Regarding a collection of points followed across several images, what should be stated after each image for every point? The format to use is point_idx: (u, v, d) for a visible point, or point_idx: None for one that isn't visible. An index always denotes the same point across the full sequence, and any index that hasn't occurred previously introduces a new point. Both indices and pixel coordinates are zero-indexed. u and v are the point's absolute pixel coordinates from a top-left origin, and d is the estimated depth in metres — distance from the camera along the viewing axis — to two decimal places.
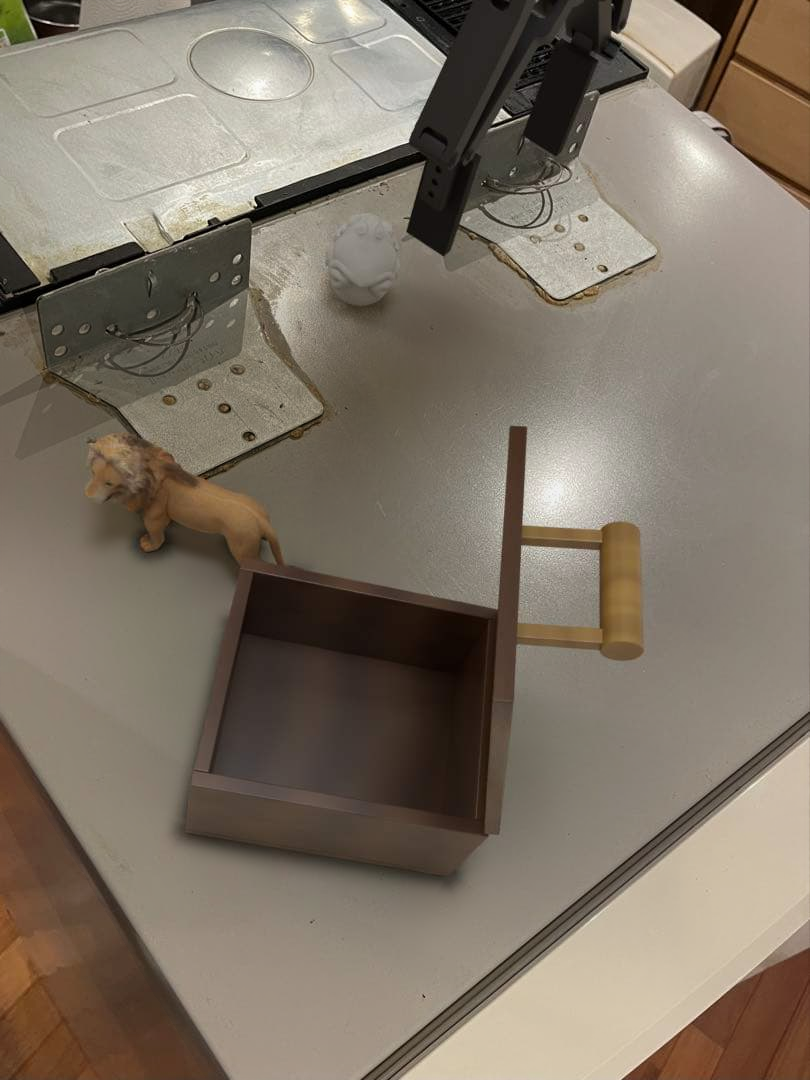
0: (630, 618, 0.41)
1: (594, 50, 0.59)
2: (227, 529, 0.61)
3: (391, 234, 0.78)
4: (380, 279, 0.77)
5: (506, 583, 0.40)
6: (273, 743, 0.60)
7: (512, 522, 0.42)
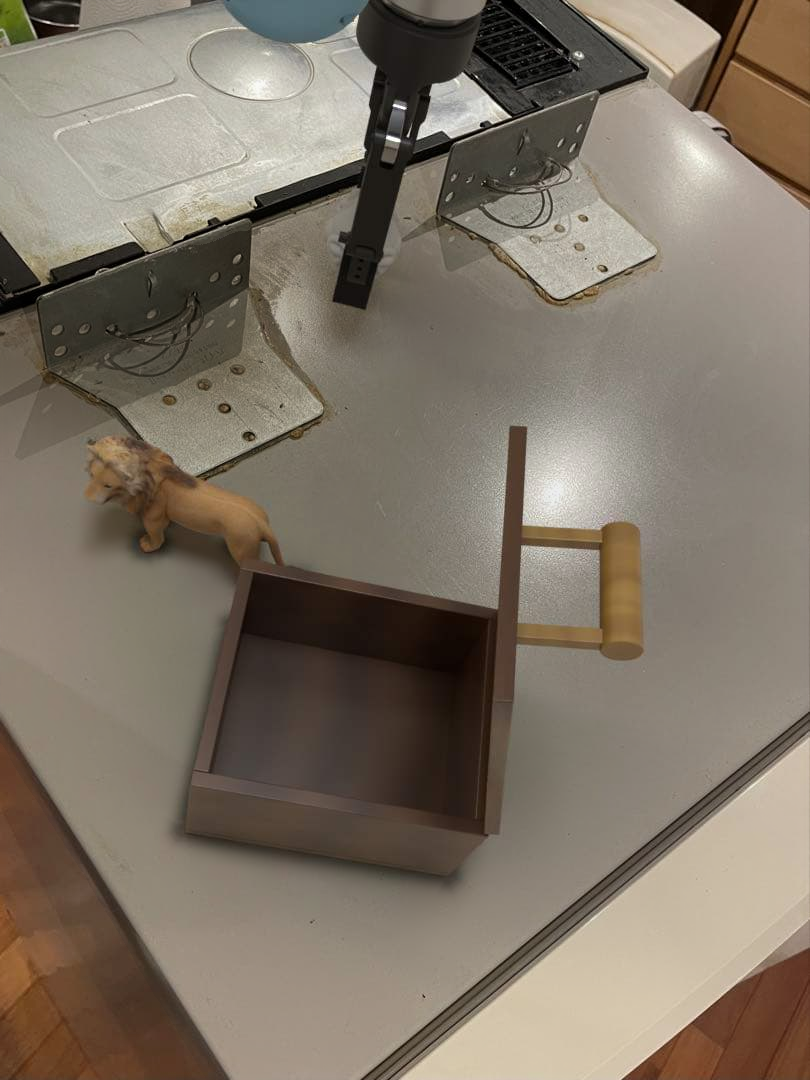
0: (630, 618, 0.41)
1: None
2: (227, 531, 0.61)
3: None
4: None
5: (506, 583, 0.40)
6: (273, 743, 0.60)
7: (512, 522, 0.42)
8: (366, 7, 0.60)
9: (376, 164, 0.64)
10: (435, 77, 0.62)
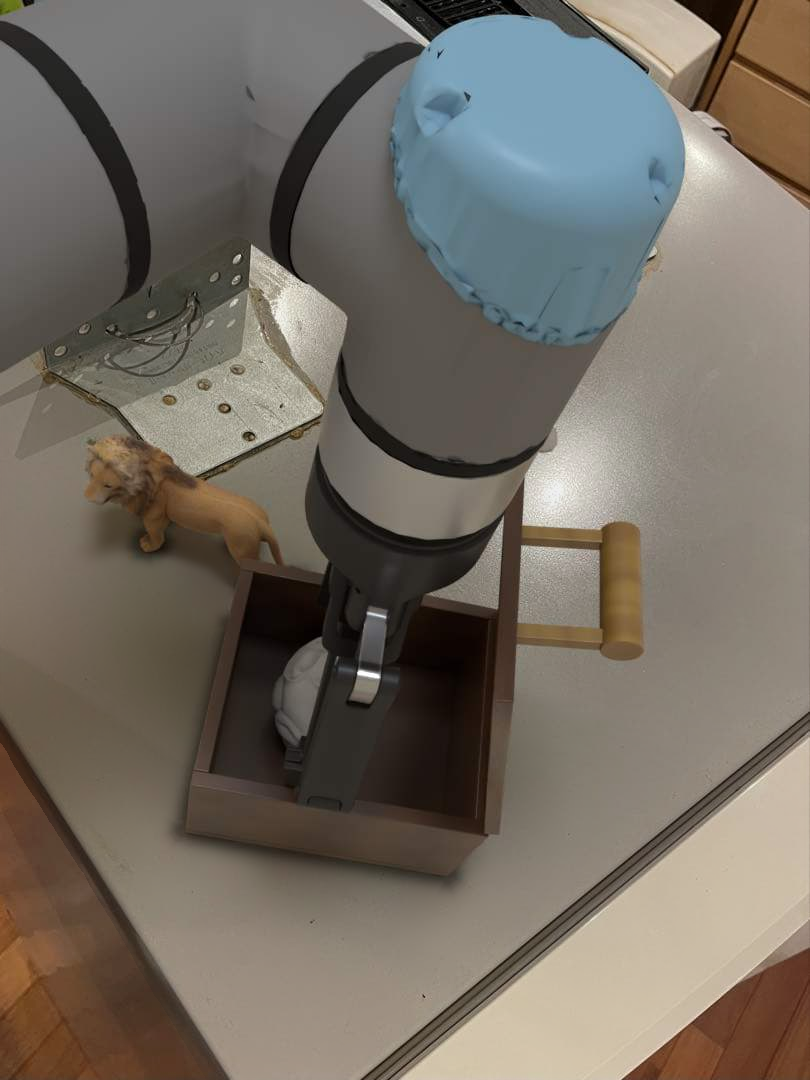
0: (630, 618, 0.41)
1: None
2: (227, 531, 0.61)
3: None
4: None
5: (506, 583, 0.40)
6: (273, 743, 0.60)
7: (512, 522, 0.42)
8: (318, 493, 0.36)
9: (341, 703, 0.39)
10: (434, 588, 0.38)
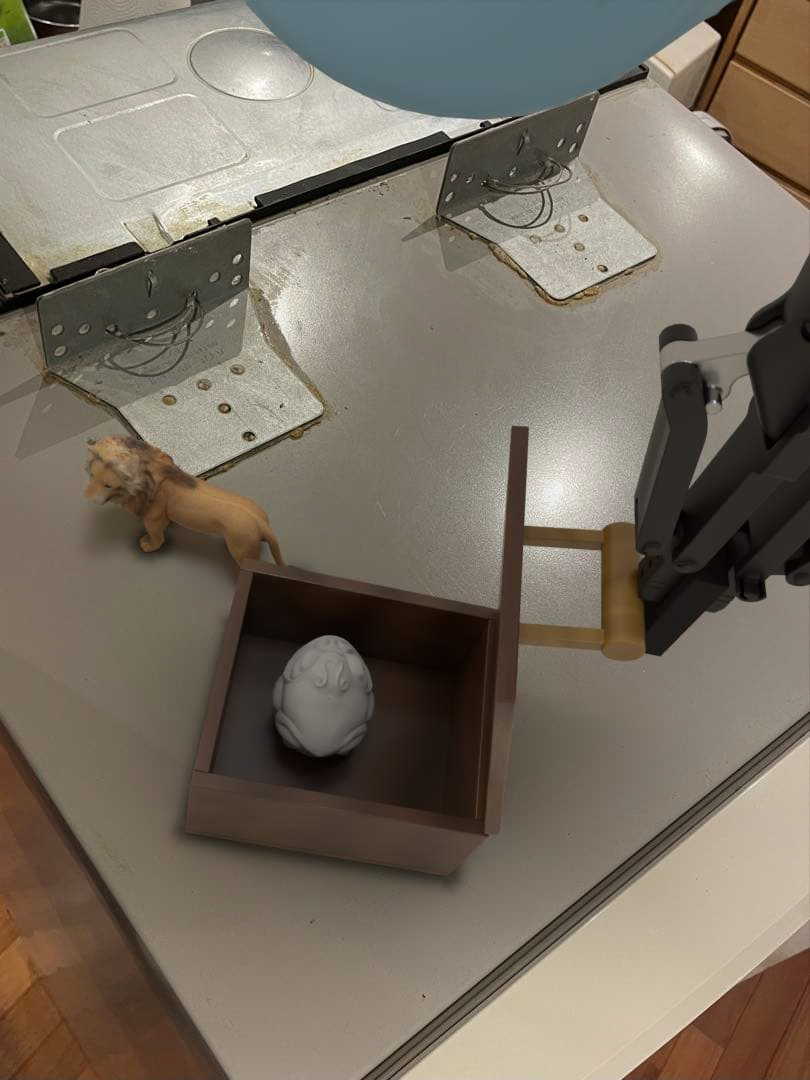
0: (631, 618, 0.41)
1: (736, 566, 0.39)
2: (227, 531, 0.61)
3: (361, 677, 0.56)
4: (346, 743, 0.56)
5: (508, 583, 0.40)
6: (273, 743, 0.60)
7: (514, 522, 0.42)
8: None
9: None
10: None
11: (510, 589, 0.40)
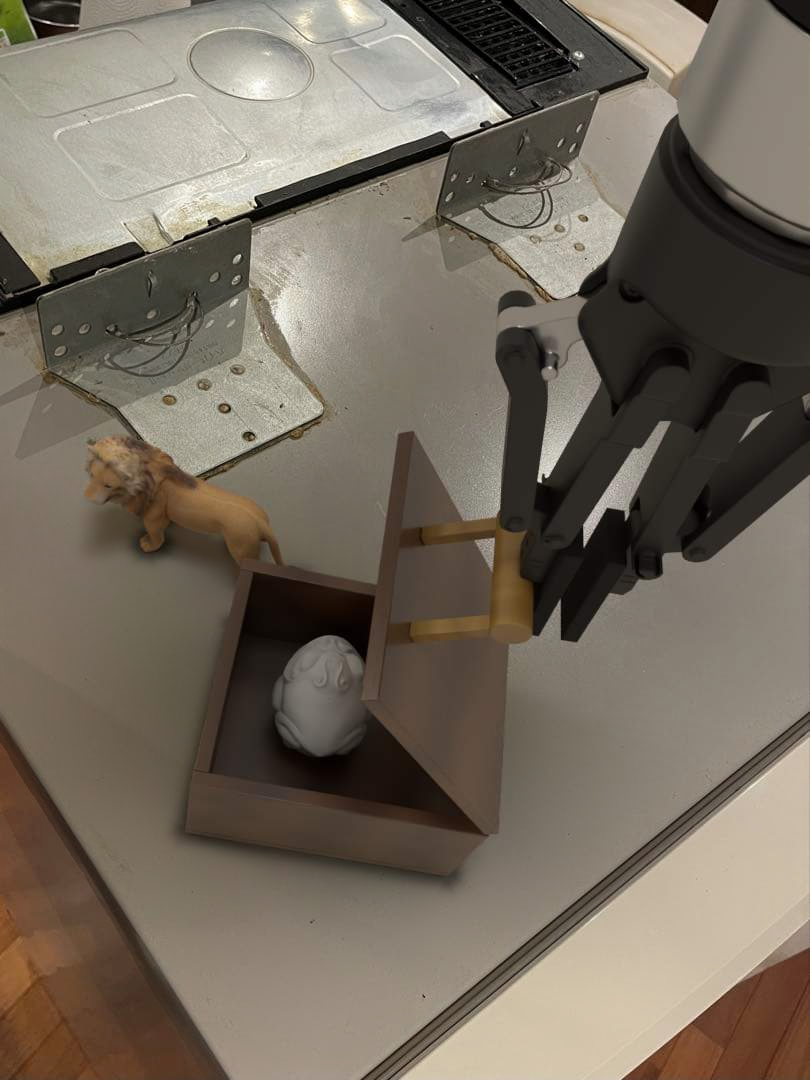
0: (511, 599, 0.41)
1: (632, 544, 0.38)
2: (227, 531, 0.61)
3: (361, 677, 0.56)
4: (346, 743, 0.56)
5: (381, 585, 0.41)
6: (273, 743, 0.60)
7: (392, 526, 0.43)
8: None
9: None
10: (642, 278, 0.27)
11: (383, 591, 0.41)
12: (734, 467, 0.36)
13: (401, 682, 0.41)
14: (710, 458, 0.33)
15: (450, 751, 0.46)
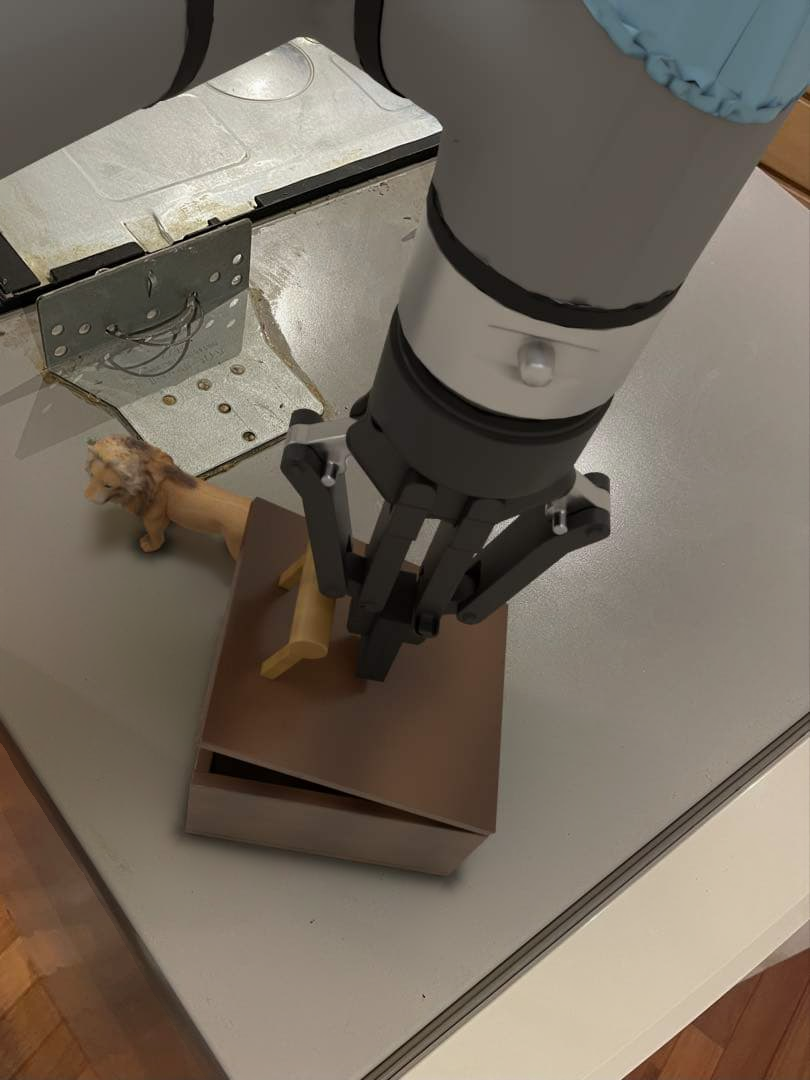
0: (297, 619, 0.44)
1: (415, 606, 0.44)
2: (227, 531, 0.61)
3: None
4: None
5: (219, 641, 0.47)
6: None
7: (232, 586, 0.49)
8: None
9: None
10: (381, 419, 0.32)
11: (219, 645, 0.47)
12: (499, 549, 0.42)
13: (246, 719, 0.46)
14: (465, 550, 0.38)
15: (364, 765, 0.48)
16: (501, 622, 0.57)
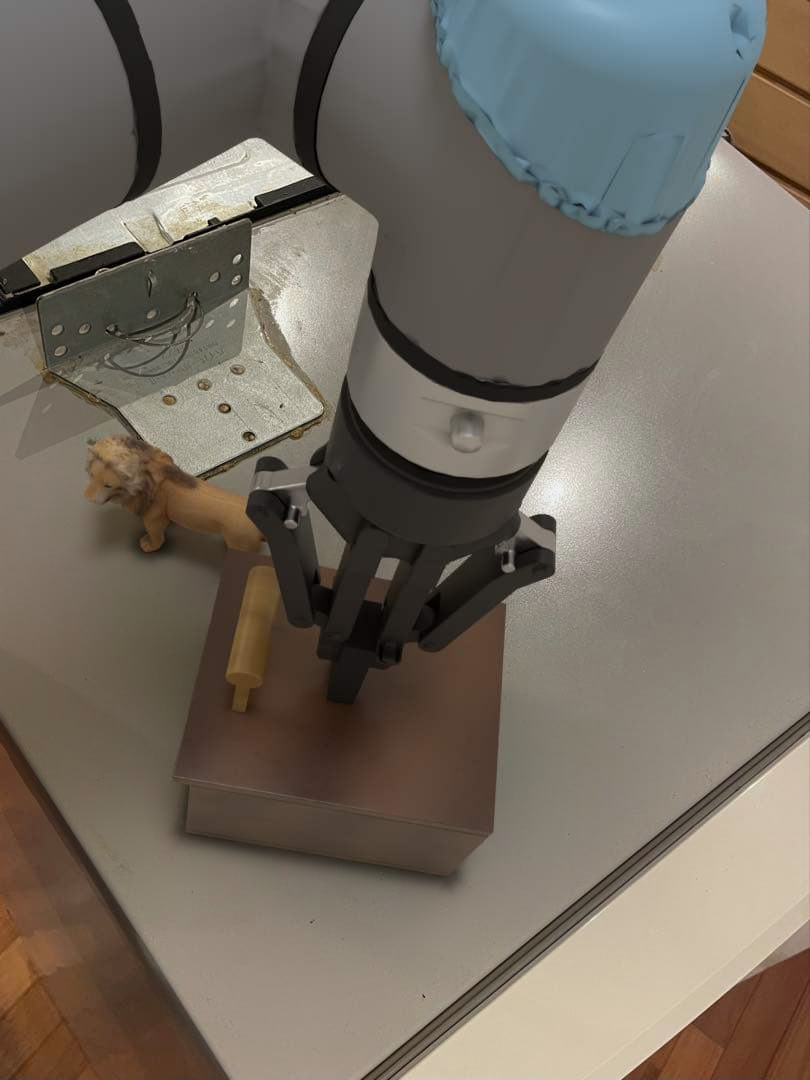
0: (231, 654, 0.48)
1: (379, 635, 0.47)
2: (227, 531, 0.61)
3: None
4: None
5: None
6: None
7: None
8: None
9: None
10: (335, 472, 0.35)
11: None
12: (456, 583, 0.44)
13: (218, 752, 0.50)
14: (420, 587, 0.41)
15: (343, 781, 0.51)
16: (498, 622, 0.57)
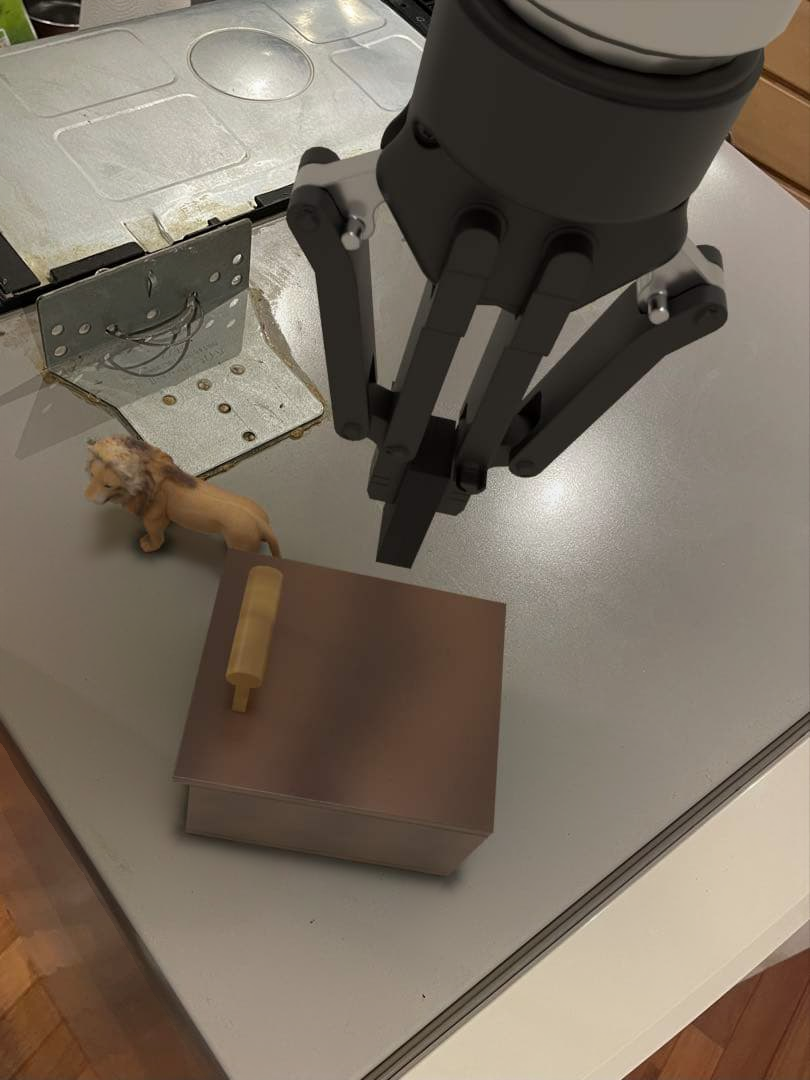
0: (231, 654, 0.48)
1: (456, 454, 0.35)
2: (227, 531, 0.61)
3: None
4: None
5: None
6: None
7: None
8: None
9: None
10: (430, 111, 0.23)
11: None
12: (567, 370, 0.32)
13: (218, 752, 0.50)
14: (530, 349, 0.29)
15: (343, 781, 0.51)
16: (498, 622, 0.57)
